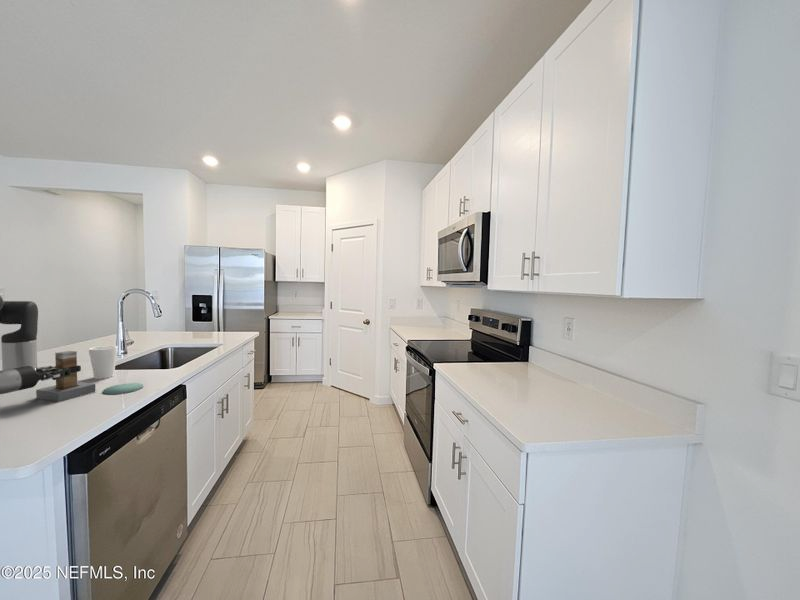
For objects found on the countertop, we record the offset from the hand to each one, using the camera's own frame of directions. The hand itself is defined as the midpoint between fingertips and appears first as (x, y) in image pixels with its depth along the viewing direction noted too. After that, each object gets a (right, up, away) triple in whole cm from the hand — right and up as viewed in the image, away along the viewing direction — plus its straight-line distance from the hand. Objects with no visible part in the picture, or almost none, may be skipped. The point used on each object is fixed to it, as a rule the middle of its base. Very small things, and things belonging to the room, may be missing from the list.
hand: (75, 367), depth 123 cm
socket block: (-1, -10, -2) cm, 10 cm away
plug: (-1, -10, -2) cm, 10 cm away
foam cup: (-7, -9, +20) cm, 23 cm away
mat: (+14, -10, +6) cm, 18 cm away
